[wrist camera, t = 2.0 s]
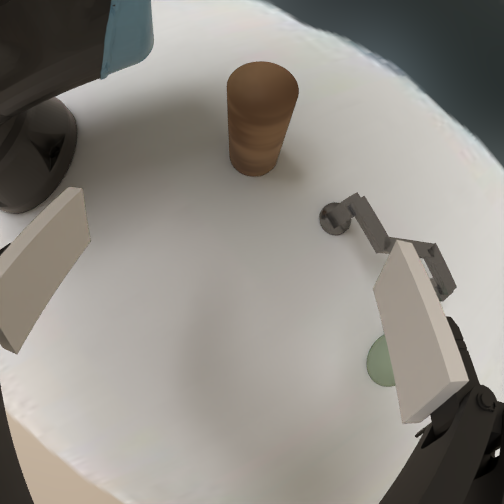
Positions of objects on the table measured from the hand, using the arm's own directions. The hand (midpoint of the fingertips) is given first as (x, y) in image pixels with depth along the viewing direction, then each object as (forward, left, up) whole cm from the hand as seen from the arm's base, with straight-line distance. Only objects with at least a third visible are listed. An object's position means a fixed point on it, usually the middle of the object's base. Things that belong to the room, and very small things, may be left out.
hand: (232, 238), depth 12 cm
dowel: (-9, +8, -18) cm, 21 cm away
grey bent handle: (+7, +13, -18) cm, 23 cm away
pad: (+17, +9, -18) cm, 26 cm away
